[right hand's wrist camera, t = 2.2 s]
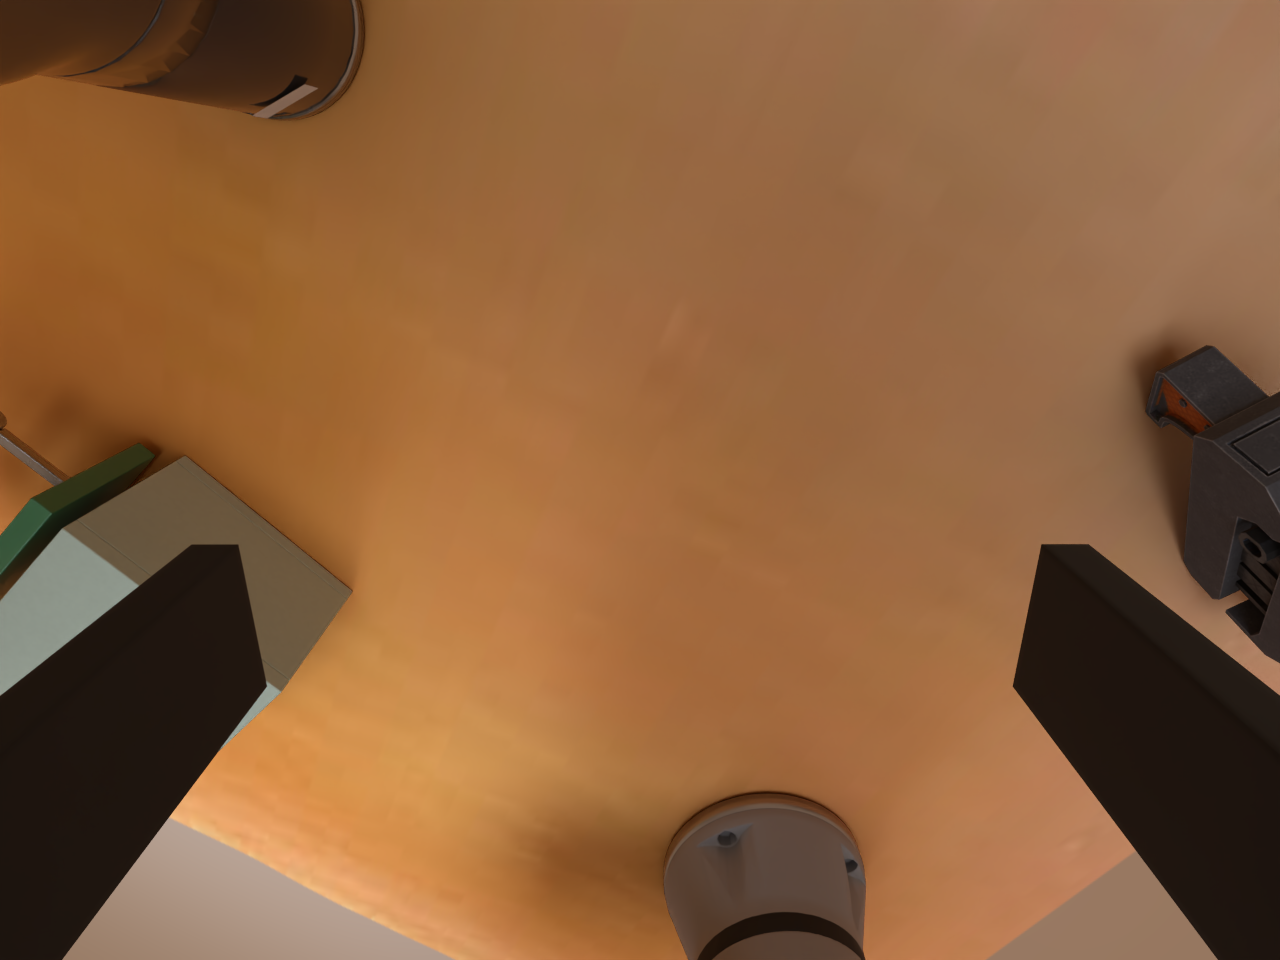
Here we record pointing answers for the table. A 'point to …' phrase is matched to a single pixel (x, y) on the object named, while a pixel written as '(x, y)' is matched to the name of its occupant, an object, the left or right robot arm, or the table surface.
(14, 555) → the drawer
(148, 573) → the grey box
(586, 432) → the table surface
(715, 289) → the table surface
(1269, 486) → the tool
